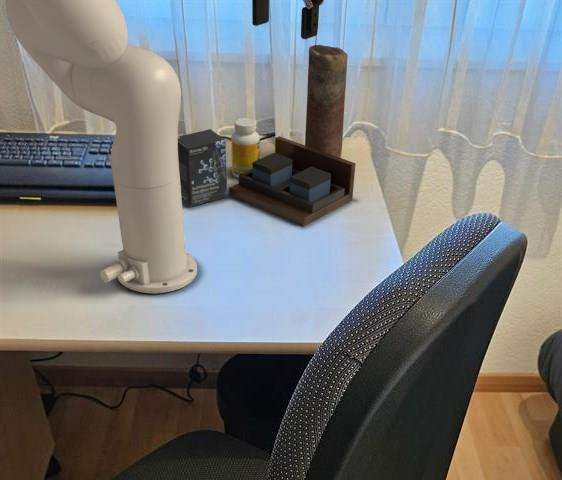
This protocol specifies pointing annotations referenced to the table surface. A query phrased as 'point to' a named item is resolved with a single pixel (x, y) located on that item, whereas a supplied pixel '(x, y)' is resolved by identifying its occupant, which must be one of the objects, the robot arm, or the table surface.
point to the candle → (326, 99)
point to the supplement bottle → (244, 146)
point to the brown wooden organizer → (279, 195)
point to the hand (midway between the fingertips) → (284, 30)
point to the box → (202, 167)
